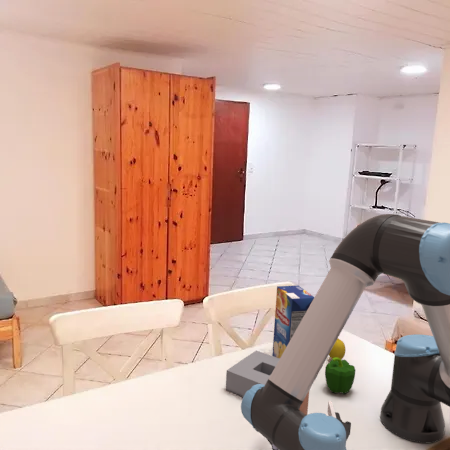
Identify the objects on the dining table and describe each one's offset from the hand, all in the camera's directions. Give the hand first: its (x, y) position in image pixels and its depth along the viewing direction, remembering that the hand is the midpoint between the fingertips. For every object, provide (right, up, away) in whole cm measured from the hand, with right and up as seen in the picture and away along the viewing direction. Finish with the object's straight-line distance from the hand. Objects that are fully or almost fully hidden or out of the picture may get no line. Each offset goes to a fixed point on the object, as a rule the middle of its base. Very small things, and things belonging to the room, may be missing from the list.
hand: (300, 403), depth 106 cm
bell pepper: (+15, -6, +24) cm, 29 cm away
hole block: (-6, -5, +23) cm, 24 cm away
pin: (+1, -8, +7) cm, 11 cm away
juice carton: (+3, -2, +38) cm, 38 cm away
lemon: (+18, -3, +41) cm, 45 cm away
